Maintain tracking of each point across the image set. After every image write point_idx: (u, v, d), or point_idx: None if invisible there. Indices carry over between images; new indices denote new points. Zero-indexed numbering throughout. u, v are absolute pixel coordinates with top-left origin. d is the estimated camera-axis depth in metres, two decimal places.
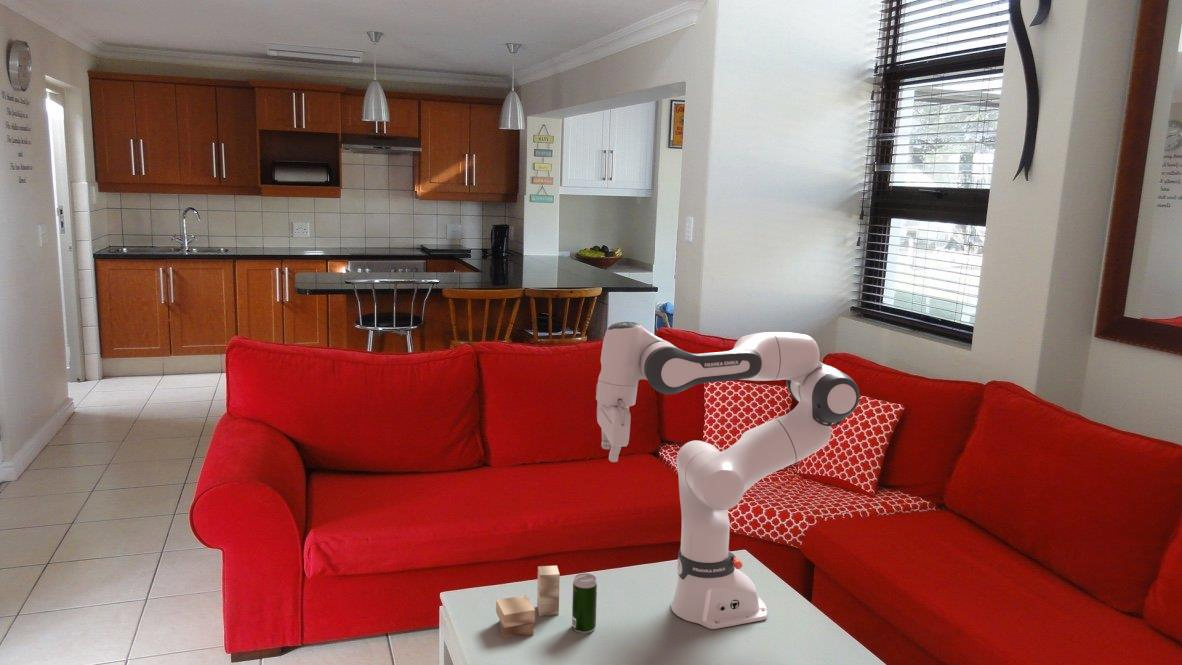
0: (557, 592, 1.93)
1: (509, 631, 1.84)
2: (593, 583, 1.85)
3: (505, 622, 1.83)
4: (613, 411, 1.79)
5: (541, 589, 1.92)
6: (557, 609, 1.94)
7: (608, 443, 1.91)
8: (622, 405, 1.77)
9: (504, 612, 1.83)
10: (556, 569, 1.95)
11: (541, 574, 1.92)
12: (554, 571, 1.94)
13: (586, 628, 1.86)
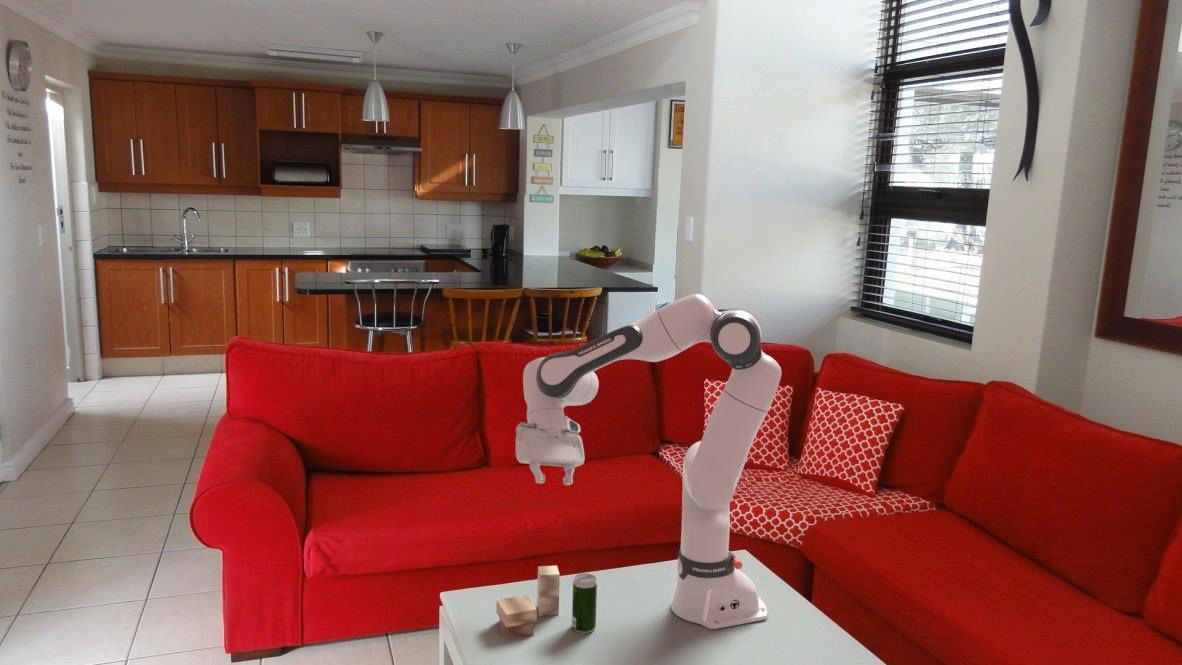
0: (557, 592, 1.93)
1: (509, 631, 1.84)
2: (593, 583, 1.85)
3: (507, 622, 1.83)
4: None
5: (541, 589, 1.92)
6: (557, 609, 1.94)
7: (566, 477, 1.96)
8: None
9: (506, 612, 1.83)
10: (556, 569, 1.95)
11: (541, 574, 1.92)
12: (554, 571, 1.94)
13: (586, 628, 1.86)
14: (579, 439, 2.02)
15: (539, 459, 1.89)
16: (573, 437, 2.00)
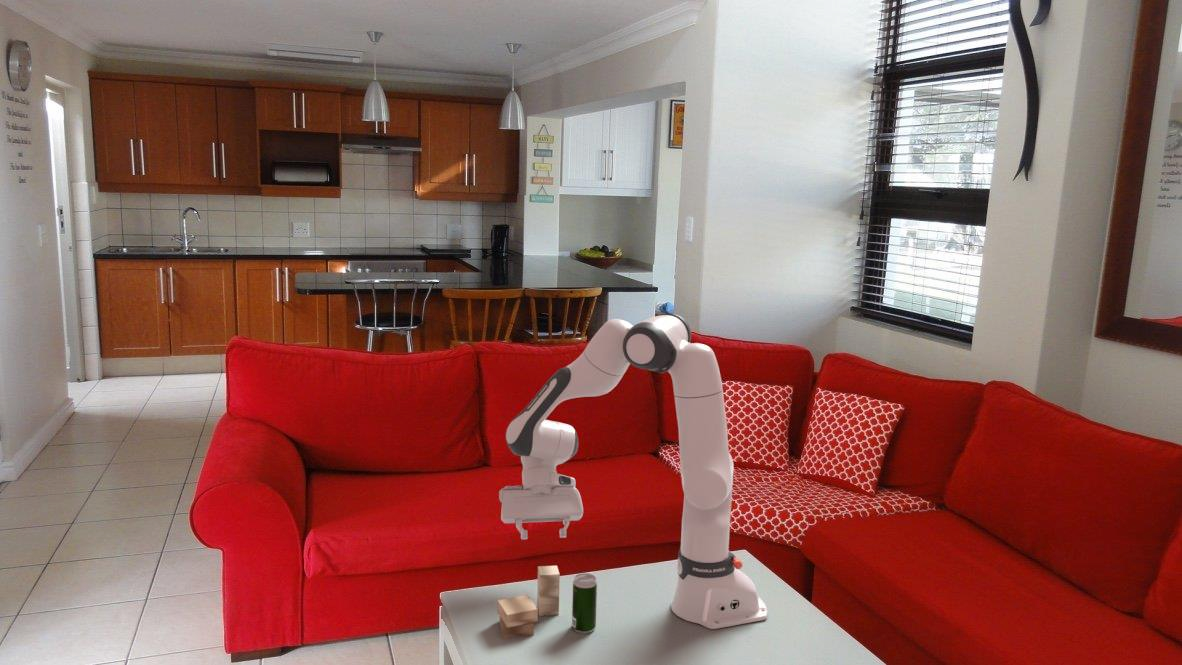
0: (557, 592, 1.93)
1: (509, 631, 1.84)
2: (593, 583, 1.85)
3: (508, 622, 1.83)
4: None
5: (541, 589, 1.92)
6: (557, 609, 1.94)
7: (560, 530, 2.05)
8: None
9: (507, 612, 1.83)
10: (556, 569, 1.95)
11: (541, 574, 1.92)
12: (554, 571, 1.94)
13: (586, 628, 1.86)
14: (574, 492, 2.09)
15: (518, 517, 2.04)
16: (566, 490, 2.09)
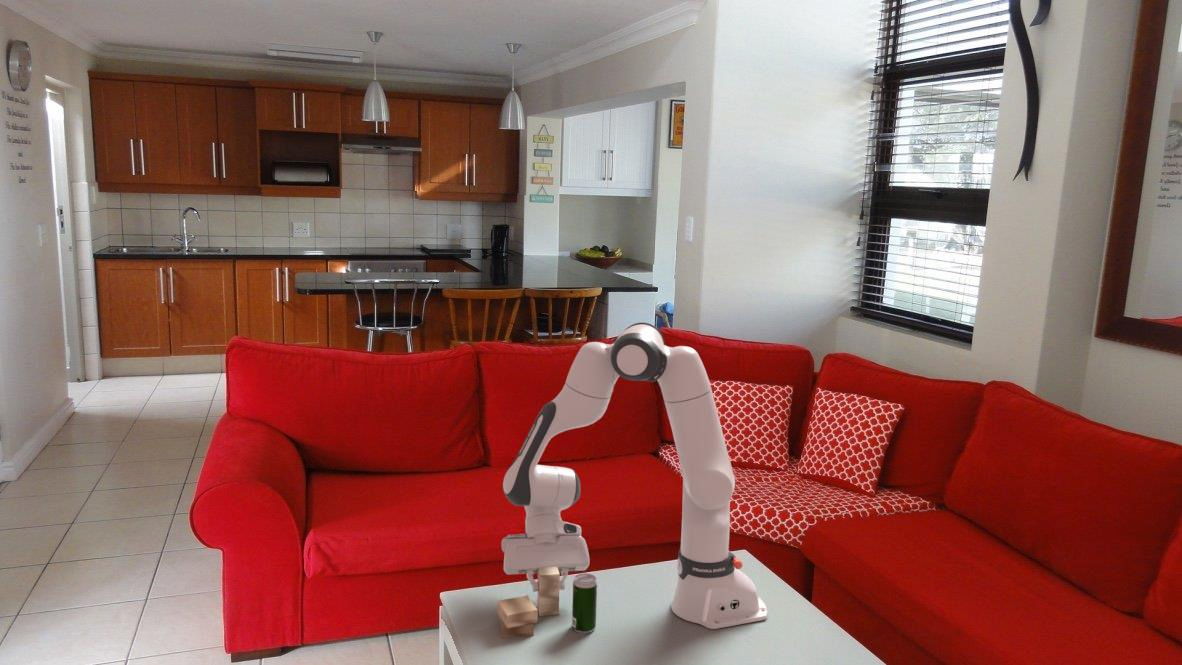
0: (557, 592, 1.93)
1: (509, 631, 1.84)
2: (593, 583, 1.85)
3: (508, 622, 1.83)
4: None
5: (541, 589, 1.92)
6: (557, 609, 1.94)
7: None
8: None
9: (507, 613, 1.83)
10: (556, 569, 1.95)
11: (541, 574, 1.92)
12: (554, 571, 1.94)
13: (586, 628, 1.86)
14: (580, 540, 2.00)
15: (522, 568, 1.95)
16: (572, 539, 2.00)
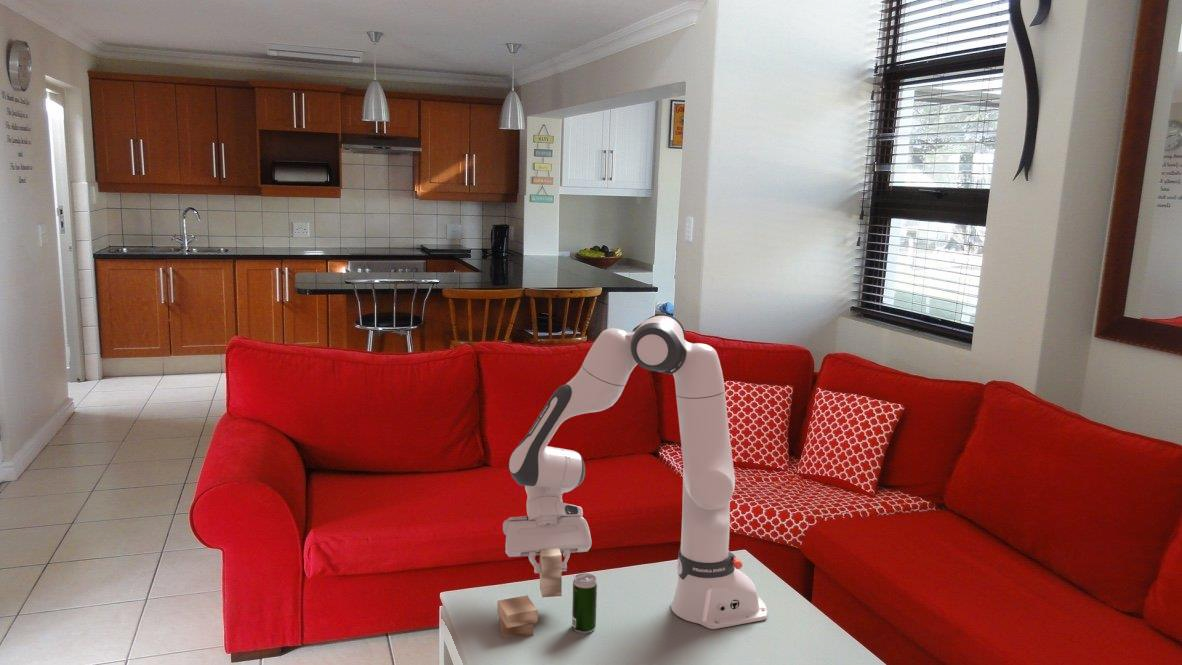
0: (559, 573, 1.92)
1: (509, 631, 1.84)
2: (593, 583, 1.85)
3: (508, 622, 1.82)
4: None
5: (543, 570, 1.91)
6: (560, 590, 1.93)
7: None
8: None
9: (507, 612, 1.83)
10: (558, 550, 1.94)
11: (543, 555, 1.91)
12: (556, 552, 1.93)
13: (586, 628, 1.86)
14: (582, 522, 1.99)
15: (524, 550, 1.94)
16: (573, 520, 1.99)
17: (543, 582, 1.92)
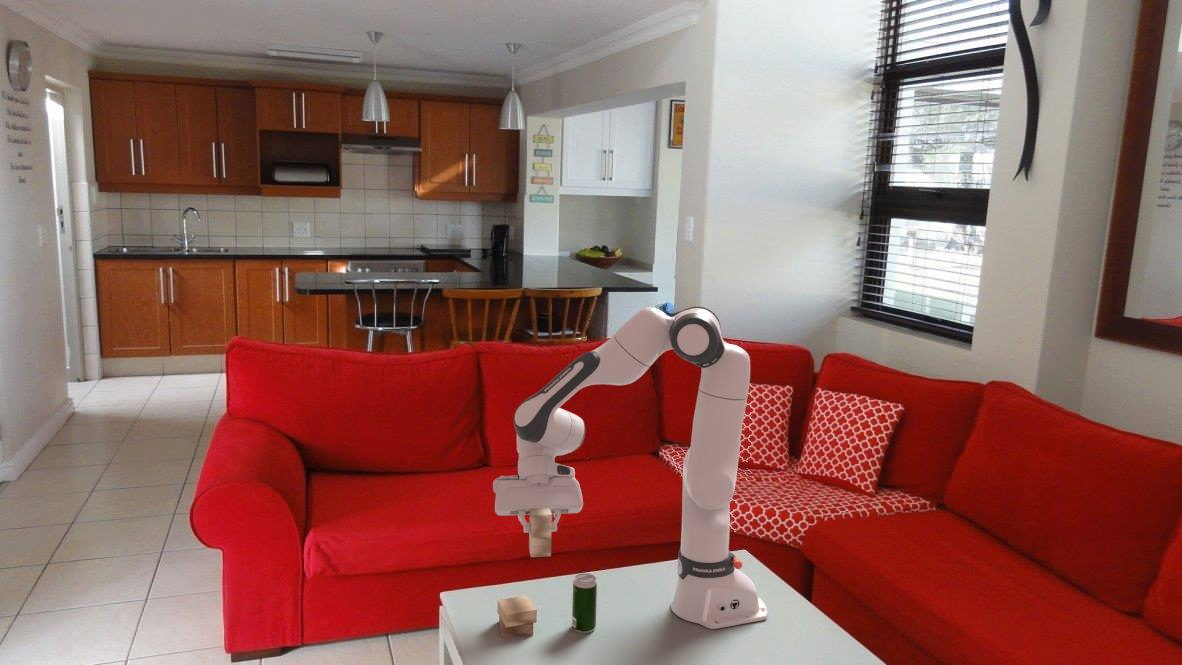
0: (549, 533, 1.89)
1: (509, 631, 1.84)
2: (593, 583, 1.85)
3: (507, 622, 1.83)
4: None
5: (533, 529, 1.88)
6: (549, 550, 1.89)
7: None
8: None
9: (506, 612, 1.83)
10: (548, 510, 1.90)
11: (533, 514, 1.88)
12: (547, 511, 1.89)
13: (586, 628, 1.86)
14: (574, 482, 1.95)
15: (513, 508, 1.90)
16: (565, 481, 1.95)
17: (532, 541, 1.88)
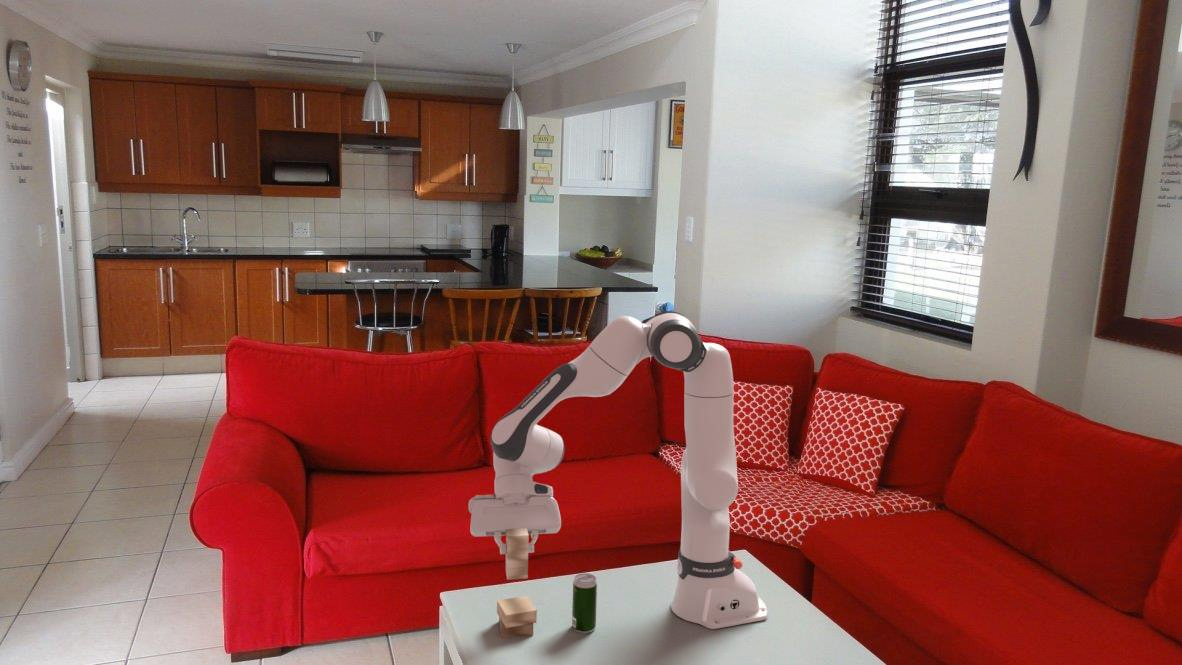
0: (526, 554, 1.83)
1: (509, 631, 1.84)
2: (593, 583, 1.85)
3: (507, 622, 1.82)
4: None
5: (509, 551, 1.82)
6: (526, 572, 1.83)
7: None
8: None
9: (506, 612, 1.83)
10: (525, 530, 1.84)
11: (509, 535, 1.82)
12: (523, 532, 1.83)
13: (586, 628, 1.86)
14: (552, 502, 1.89)
15: (489, 529, 1.84)
16: (543, 500, 1.89)
17: (508, 563, 1.82)
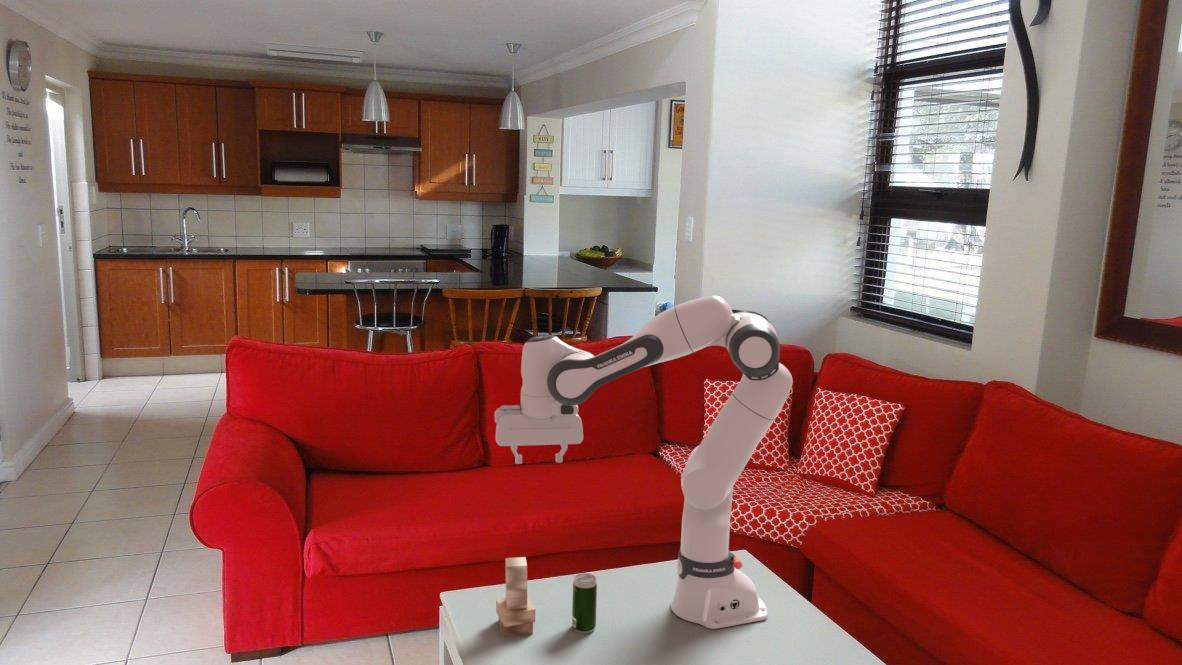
0: (525, 584, 1.84)
1: (508, 630, 1.84)
2: (593, 583, 1.85)
3: (506, 621, 1.83)
4: None
5: (508, 581, 1.83)
6: (525, 603, 1.85)
7: (556, 456, 1.96)
8: None
9: (504, 611, 1.83)
10: (524, 560, 1.86)
11: (507, 565, 1.83)
12: (522, 562, 1.85)
13: (586, 628, 1.86)
14: (576, 420, 1.93)
15: (514, 445, 1.92)
16: (567, 419, 1.92)
17: (508, 594, 1.84)
